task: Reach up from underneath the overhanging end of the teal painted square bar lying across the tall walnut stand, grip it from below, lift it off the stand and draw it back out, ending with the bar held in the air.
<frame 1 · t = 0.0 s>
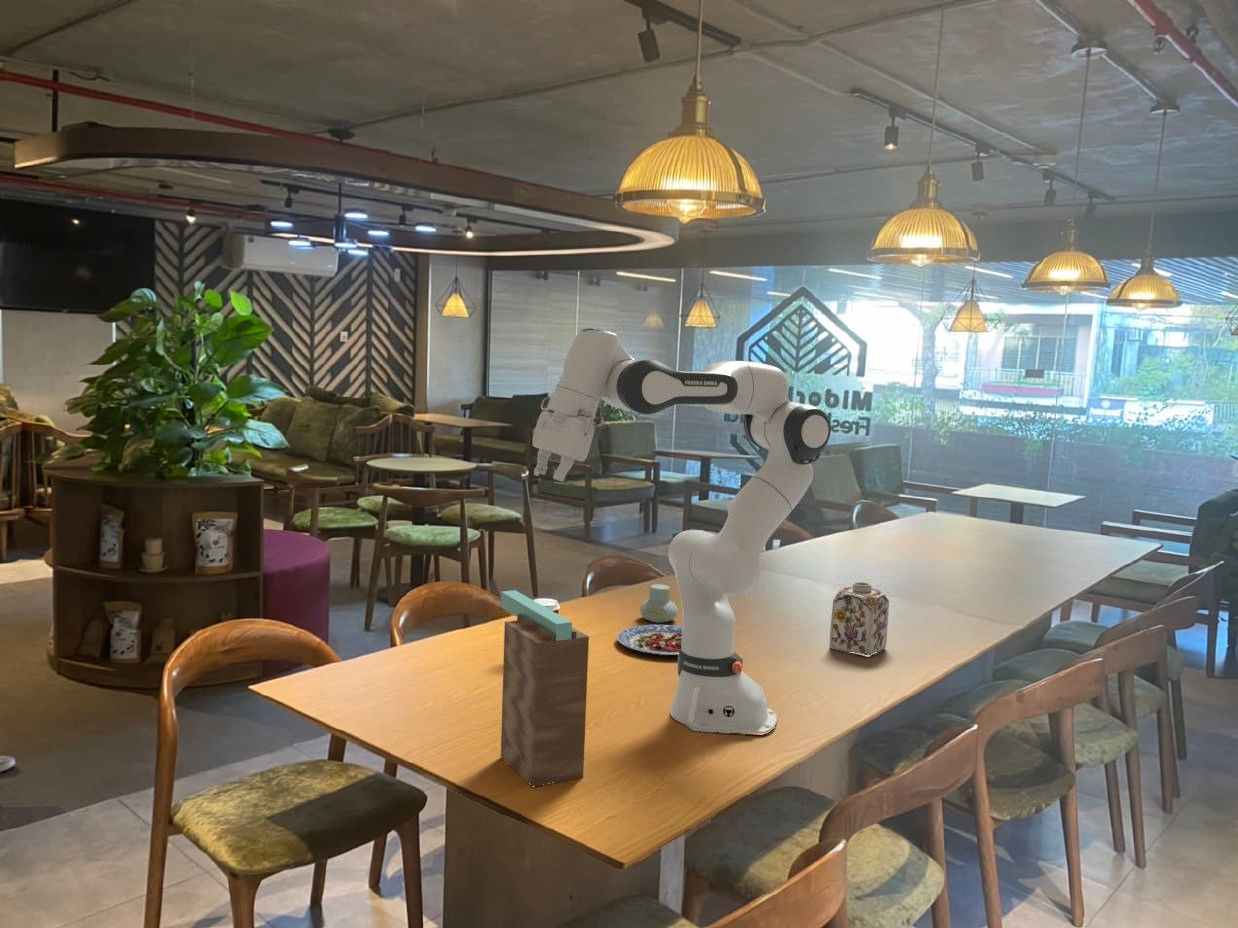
hand: (548, 476, 184), 52 cm above the table, tool tilted 20°, fingers open, 8 cm apart
ceramic plate: (665, 647, 254), on the table
paper cup: (542, 657, 241), on the table
decorative jar: (857, 650, 259), on the table
walnut stand: (541, 767, 177), on the table
air freshener: (658, 621, 278), on the table
teal rod: (534, 622, 178), point 26 cm above the table, touching walnut stand
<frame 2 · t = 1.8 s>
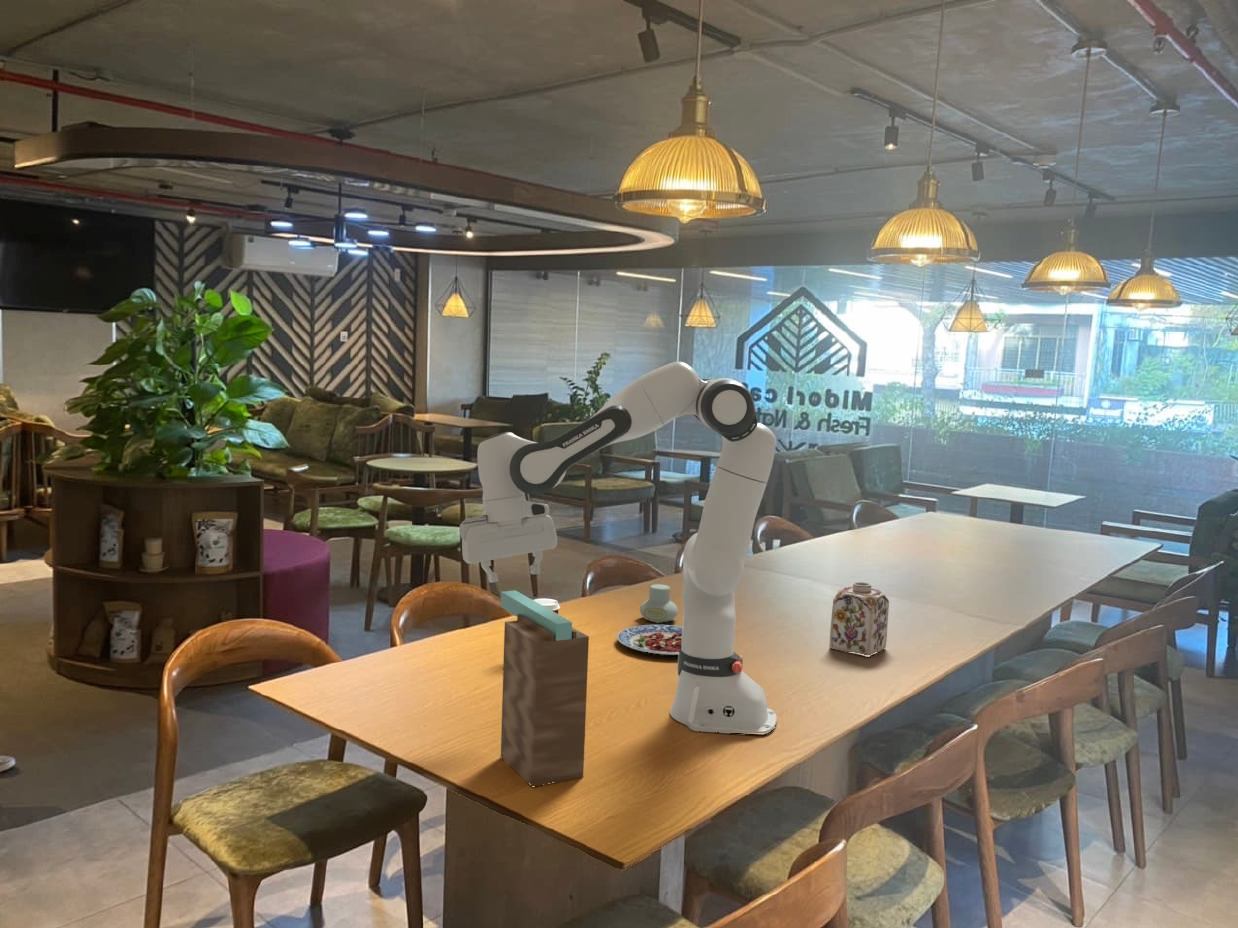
hand: (514, 577, 200), 29 cm above the table, tool pointing down, fingers open, 8 cm apart
nothing on the table moved.
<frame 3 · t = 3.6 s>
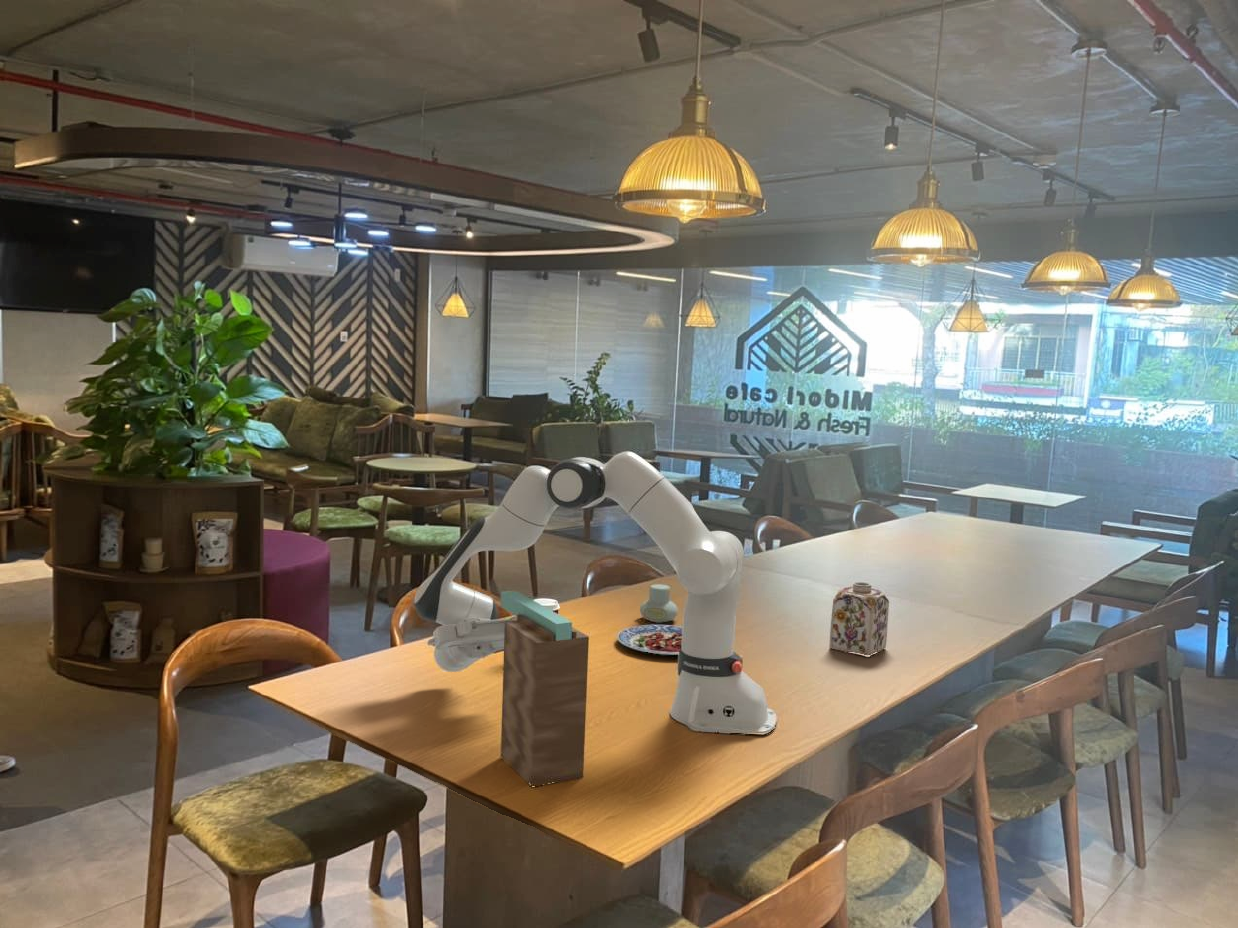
hand: (494, 622, 194), 21 cm above the table, tool pointing upward, fingers open, 8 cm apart
nothing on the table moved.
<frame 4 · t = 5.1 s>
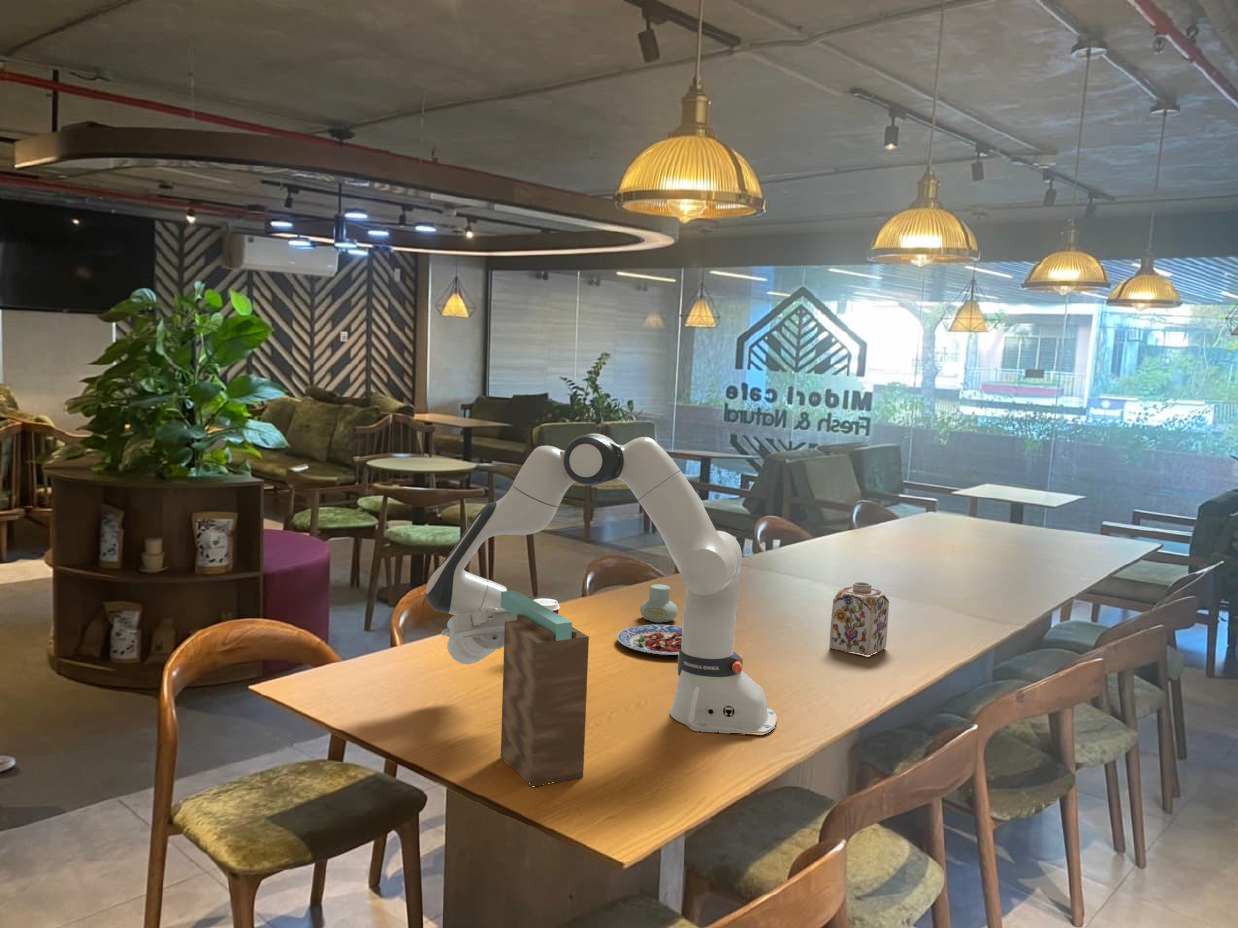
hand: (511, 611, 187), 25 cm above the table, tool pointing upward, fingers open, 8 cm apart
nothing on the table moved.
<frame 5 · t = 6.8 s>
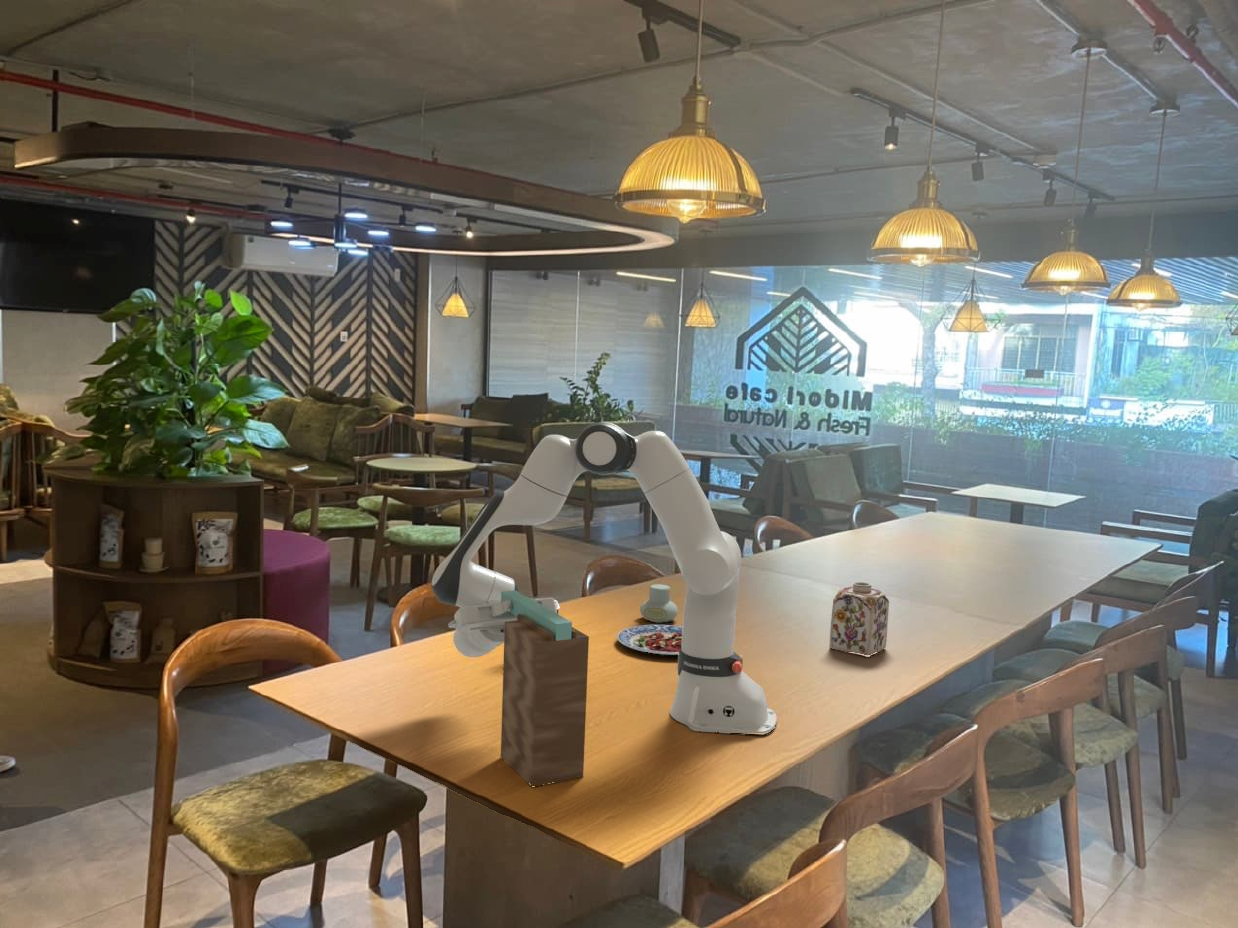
hand: (520, 603, 183), 28 cm above the table, tool pointing upward, fingers closed on teal rod, 3 cm apart
teal rod: (534, 622, 178), point 26 cm above the table, touching gripper, walnut stand
everything else where it was.
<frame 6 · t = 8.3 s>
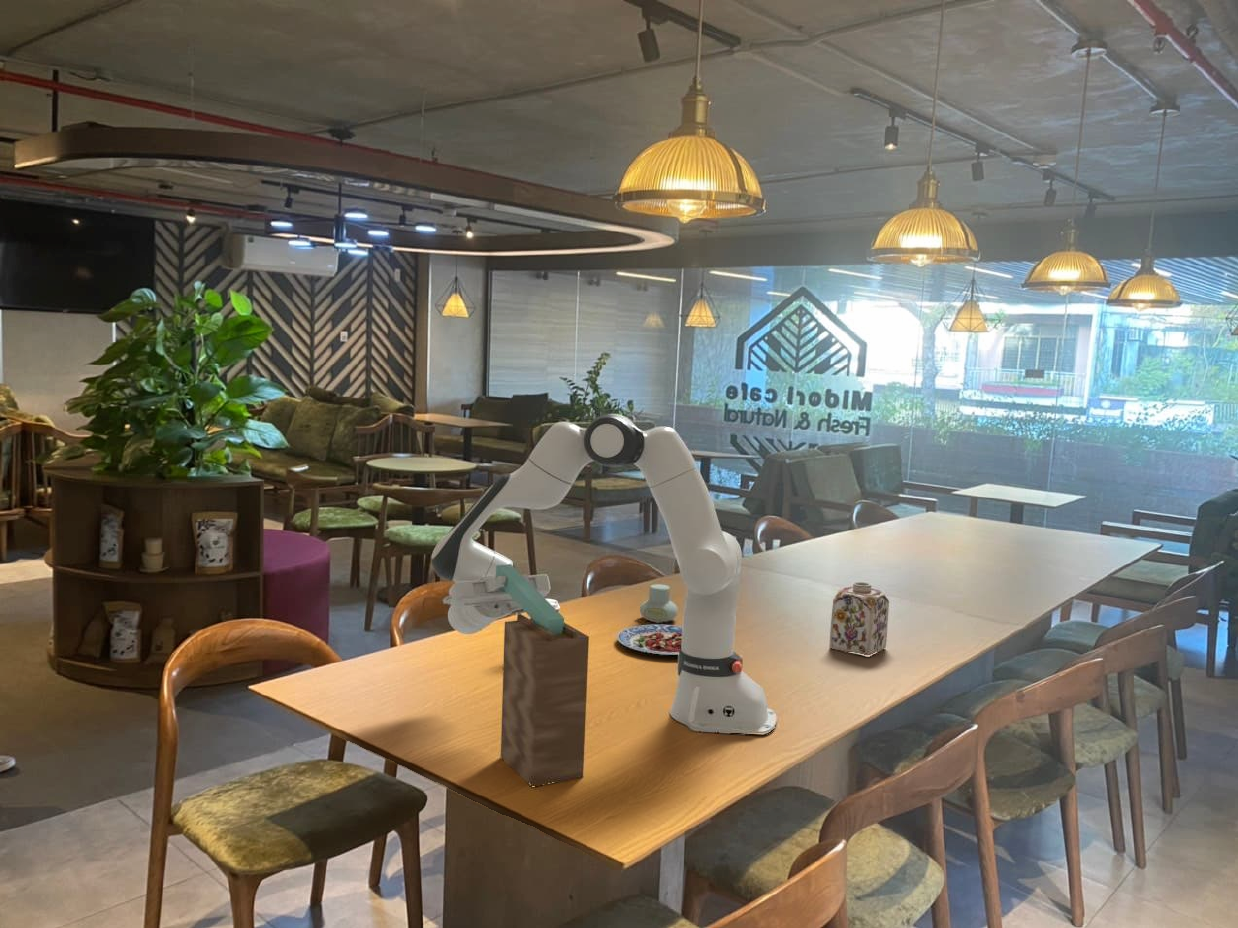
hand: (514, 578, 185), 32 cm above the table, tool pointing upward, fingers closed on teal rod, 3 cm apart
teal rod: (526, 605, 181), point 28 cm above the table, tilted 11°, touching gripper
everything else where it was.
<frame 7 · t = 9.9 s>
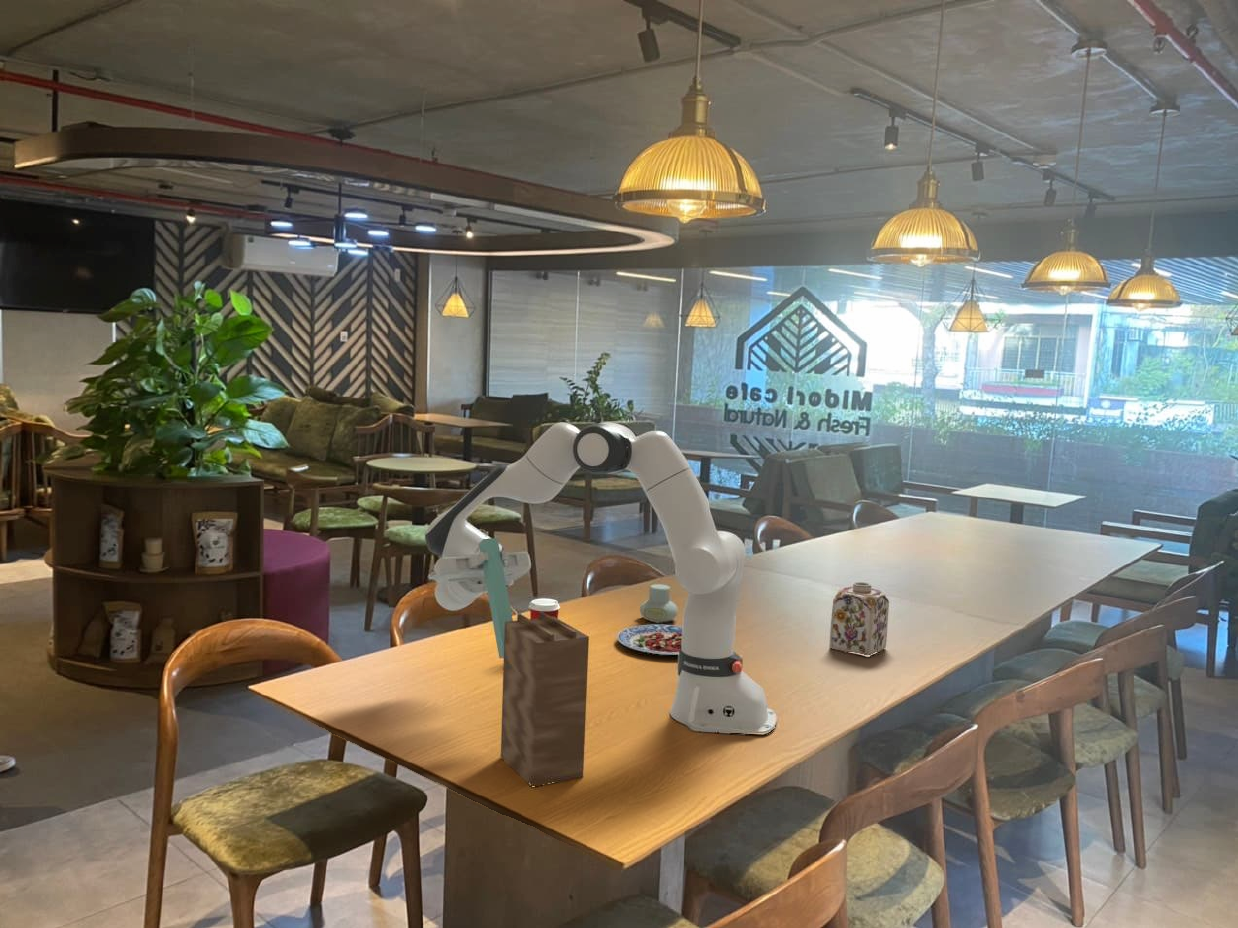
hand: (495, 555, 195), 34 cm above the table, tool pointing upward, fingers closed on teal rod, 3 cm apart
teal rod: (495, 599, 195), point 25 cm above the table, tilted 60°, touching gripper
everything else where it was.
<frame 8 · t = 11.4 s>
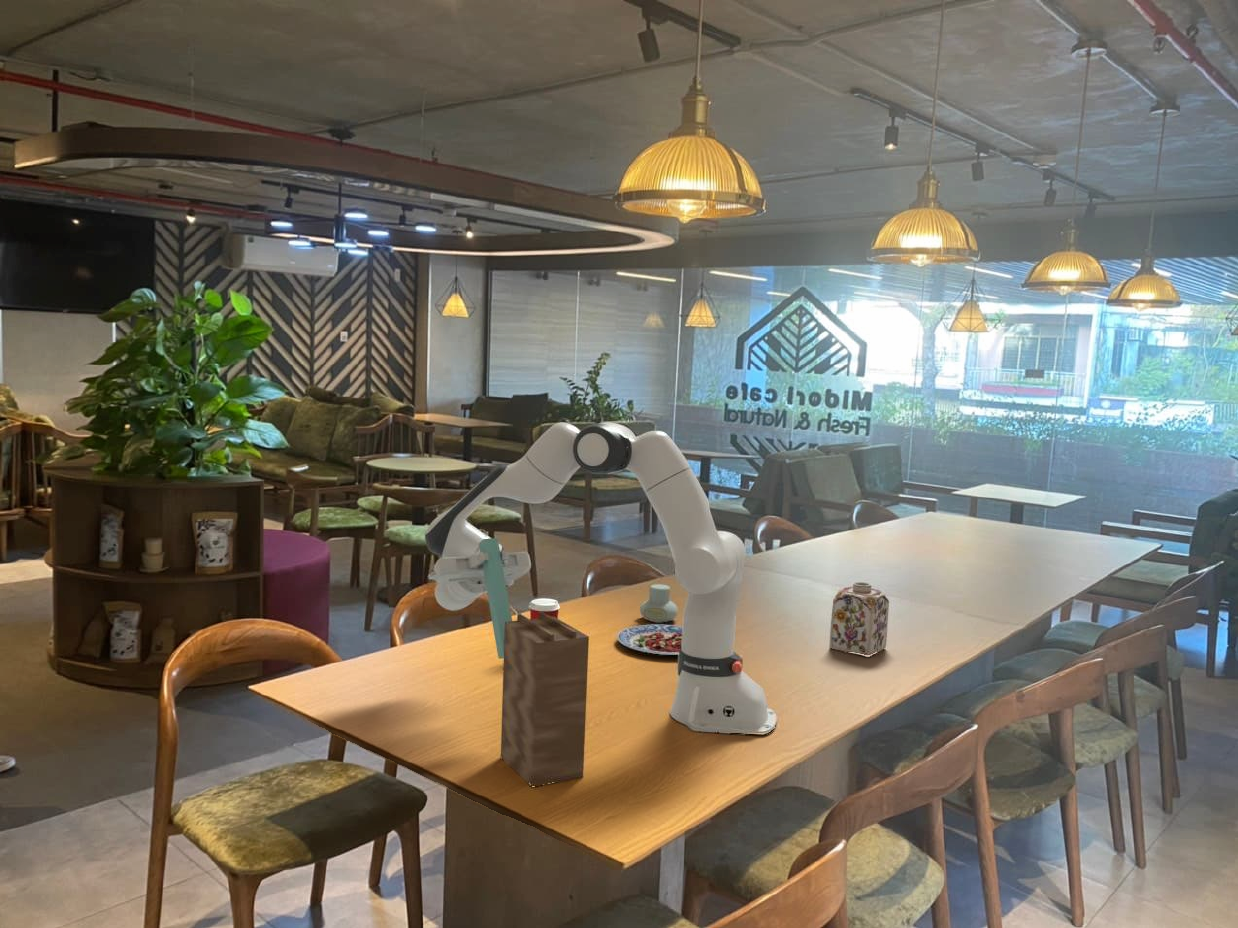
hand: (495, 555, 195), 34 cm above the table, tool pointing upward, fingers closed on teal rod, 3 cm apart
teal rod: (495, 599, 195), point 25 cm above the table, tilted 61°, touching gripper
everything else where it was.
at the end: the gripper is holding teal rod; teal rod moved 19.8 cm from its start; teal rod touching gripper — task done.
